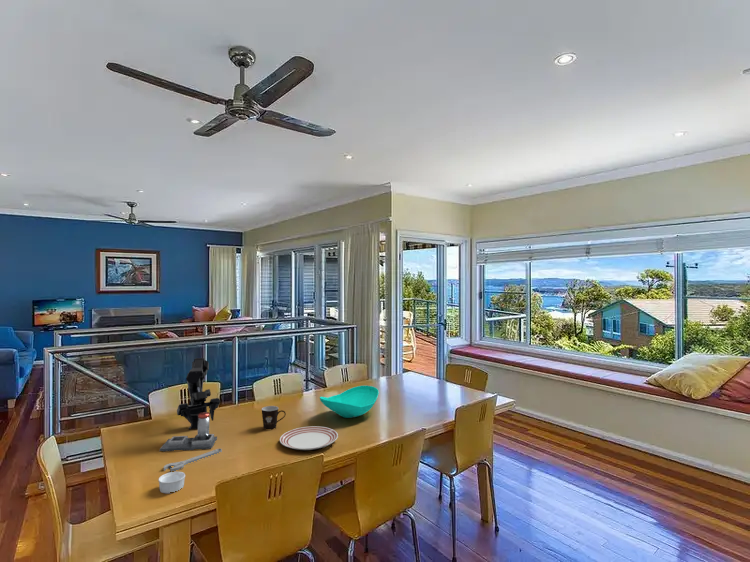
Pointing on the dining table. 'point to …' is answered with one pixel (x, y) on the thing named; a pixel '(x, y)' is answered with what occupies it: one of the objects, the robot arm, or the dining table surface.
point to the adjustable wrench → (190, 460)
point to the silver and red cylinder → (203, 426)
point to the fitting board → (188, 443)
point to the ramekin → (171, 482)
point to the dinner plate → (308, 438)
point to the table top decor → (352, 401)
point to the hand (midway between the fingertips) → (202, 422)
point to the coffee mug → (270, 416)
